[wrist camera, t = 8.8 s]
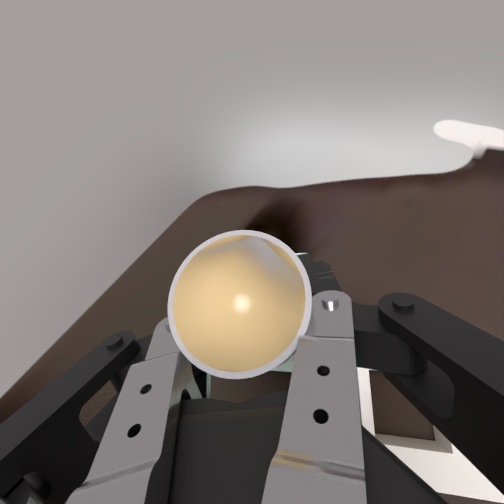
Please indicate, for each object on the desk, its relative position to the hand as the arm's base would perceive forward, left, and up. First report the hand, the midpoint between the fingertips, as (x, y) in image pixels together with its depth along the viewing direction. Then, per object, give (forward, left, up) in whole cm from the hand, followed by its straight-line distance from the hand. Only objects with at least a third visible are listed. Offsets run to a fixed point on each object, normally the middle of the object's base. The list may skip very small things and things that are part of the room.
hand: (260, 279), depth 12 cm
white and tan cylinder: (0, -2, -5) cm, 5 cm away
